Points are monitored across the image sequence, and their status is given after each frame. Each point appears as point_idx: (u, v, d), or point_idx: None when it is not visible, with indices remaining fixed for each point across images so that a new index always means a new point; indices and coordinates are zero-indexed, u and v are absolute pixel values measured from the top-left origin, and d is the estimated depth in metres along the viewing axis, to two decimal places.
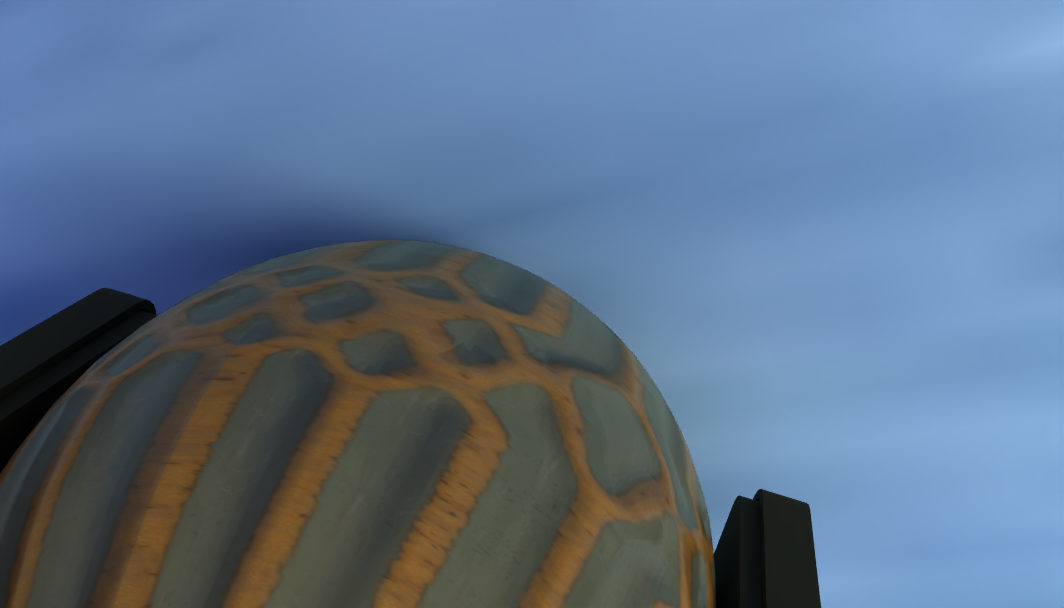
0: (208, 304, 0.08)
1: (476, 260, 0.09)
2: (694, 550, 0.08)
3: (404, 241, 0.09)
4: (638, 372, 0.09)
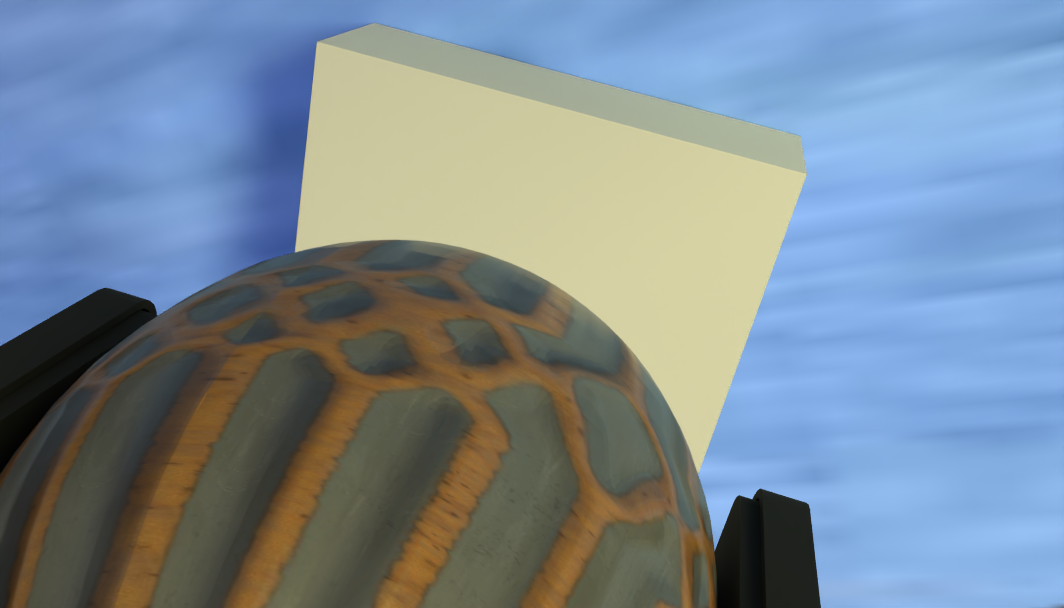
0: (209, 304, 0.08)
1: (477, 260, 0.09)
2: (695, 551, 0.08)
3: (405, 241, 0.09)
4: (639, 372, 0.09)
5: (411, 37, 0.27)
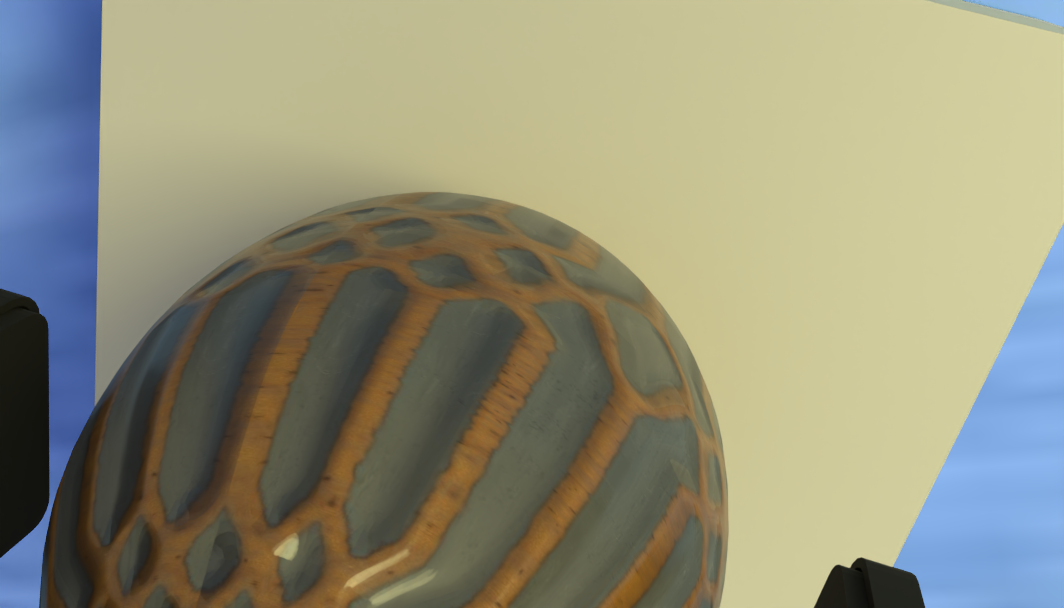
0: (290, 236, 0.09)
1: (517, 207, 0.10)
2: (710, 453, 0.09)
3: None
4: (659, 307, 0.10)
5: None
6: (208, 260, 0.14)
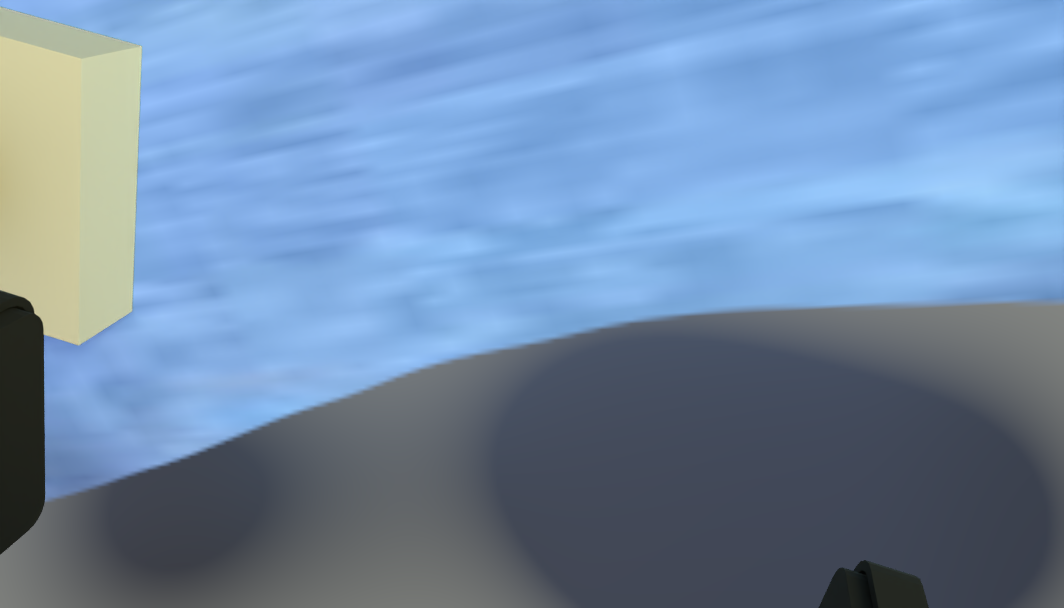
0: None
1: None
2: None
3: None
4: None
5: None
6: None
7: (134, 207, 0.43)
